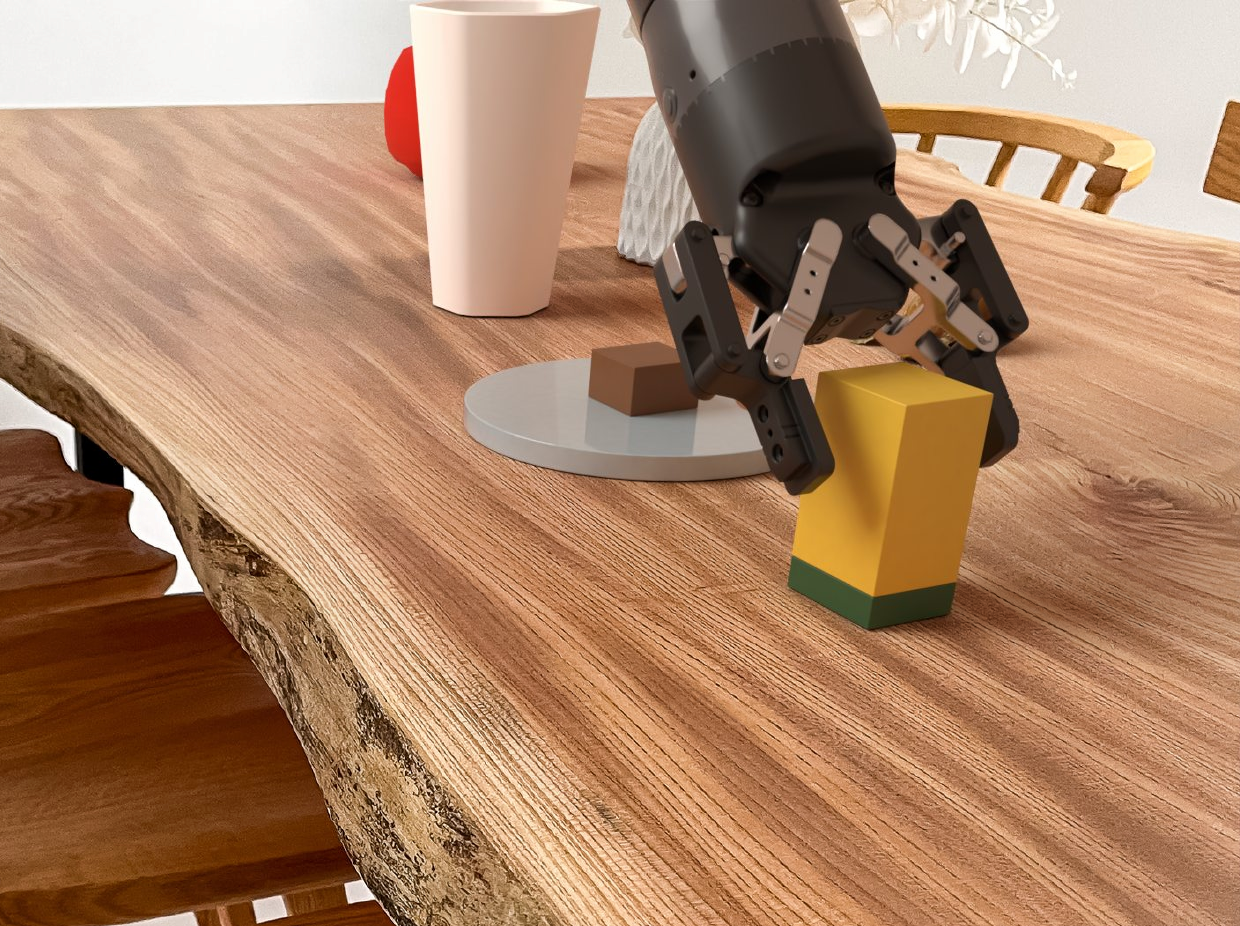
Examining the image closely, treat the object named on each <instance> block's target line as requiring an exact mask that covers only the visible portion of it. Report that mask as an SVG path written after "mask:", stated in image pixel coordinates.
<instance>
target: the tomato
mask: <svg viewBox="0 0 1240 926" xmlns="http://www.w3.org/2000/svg"><path fill="white" fill-rule="evenodd" d="M384 96H385V97H384V103H383V104H384V105H383V123H384V137H385V142H386V145H387V149H388V152H389V154H390V155H391V156H392V158H393V159H394V160H395V161H396V162H398V163H400V164H401V165H403V166H405V167H406V168H407V169H408V170H409V171H410V172H411V173H412V174H413V175H415V176H417V177H418V178H419V179H422V180H423V171H422V158H421V145H420V133H419V120H418V108H417V95H416V83H415V70H414V58H413V45H412V44H411V45H409V46H408V47H405V48H403V49H402V50H401V52H400V54H399V56H398V58H397V59H396V61H395V62H394V64H393V67H392V68H391V71H390V74H389V78H388V83H387V86H386V89H385V94H384Z"/></svg>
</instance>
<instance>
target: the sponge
mask: <svg viewBox="0 0 1240 926" xmlns="http://www.w3.org/2000/svg"><path fill="white" fill-rule="evenodd" d="M815 387H816V389H815V395H814V399H815V401H814V406H815V408H816V411H817V414H818V416H819V419H820V422H821V424H822V427H823V430H824V432H825V435H826V437H827V440H828V443H829V445H830V448H831V451H832V453H833V456H834V459H835V469H834V472H833V474H832V475H831V476H830V477H829V478H828V479H827V480H826V481H825V482H824V483H822V484H821V485H820V486H819V487H818V488H817V489H816V490H814V491H813V492H812V493H810V494H804V495H799V496H800V497H799V505H798V511H797V517H796V524H795V530H794V531H795V532H794V539H793V545H792V552H791V557H790V564H789V565H790V566H789V572H788V578H787V579H788V580H787V587H788V588H790V589H792V590H794V591H796V592H797V593H799V594H801V595H803V596H805V597H806V598H808V599H811V600H812V601H814V602H815V603H818V604H820V605H821V606H823V607H825V608H827V609H829V610H830V611H832V612H834V613H836V614H838V615H840V616H841V617H843V618H845V619H847V620H848V621H851V622H853V623H854V624H857V626H859V627H861V628H863V629H865V630H867V631H868V630H874V629H880V628H886V627H889V626H895V625H900V624H905V623H911V622H915V621H916V622H917V621H922V620H926V619H933V618H937V617H942V616H946V615H950V614H951V612H952V606H953V602H954V596H955V592H956V586H957V582H958V577H959V572H960V567H961V561H962V556H963V551H964V547H965V540H966V535H967V531H968V525H969V522H970V521H969V520H970V516H971V511H972V506H973V501H974V496H975V492H976V486H977V481H978V476H979V470H980V468H979V466H980V461H981V456H982V451H983V446H984V441H985V436H986V431H987V426H988V421H989V416H990V411H991V405H992V400H993V393H990V392H987V391H984V390H982V389H979V388H976V387H973V386H970V385H968V384H965V383H962V382H959V381H956V380H953V379H951V378H948V377H945V376H942V375H939V374H937V373H934V372H931V371H928V370H927V369H926V368H922V367H919V366H917V365H914V364H912V363H909V362H905V361H896V362H887V363H879V364H873V365H871V364H870V365H866V366H865V365H864V366H863V365H862V366H856V367H847V368H840V369H839V368H838V369H830V370H822V371H819V372H818V375H817V381H816V386H815Z"/></svg>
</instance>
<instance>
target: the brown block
mask: <svg viewBox="0 0 1240 926" xmlns="http://www.w3.org/2000/svg"><path fill="white" fill-rule="evenodd" d="M590 358H591V367H590V379H589V392H588V396H589V397H590V398H593V399H595V400H597V401H599V402H601V403H603V404H605V405H607V406H609V407H611V408H614V409H616V410H618V411H620V412H622V413H624V414H626V415H628V416H630V417H632V416H639V415H647V414H654V413H662V412H670V411H677V410H685V409H693V408H698V401H699V399H697V398H696V397H694V396H693V395H692V393H691V392H690V390H689V388H688V385H687V382H686V379H685V375H684V372H683V369H682V366H681V362H680V359H679V356H678V352H677V349H676V347H673V346H670V345H668V344H665V343H663V342H661V341H649V342H641V343H633V344H624V345H616V346H605V347H597V348H592V349H591V355H590Z"/></svg>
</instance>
